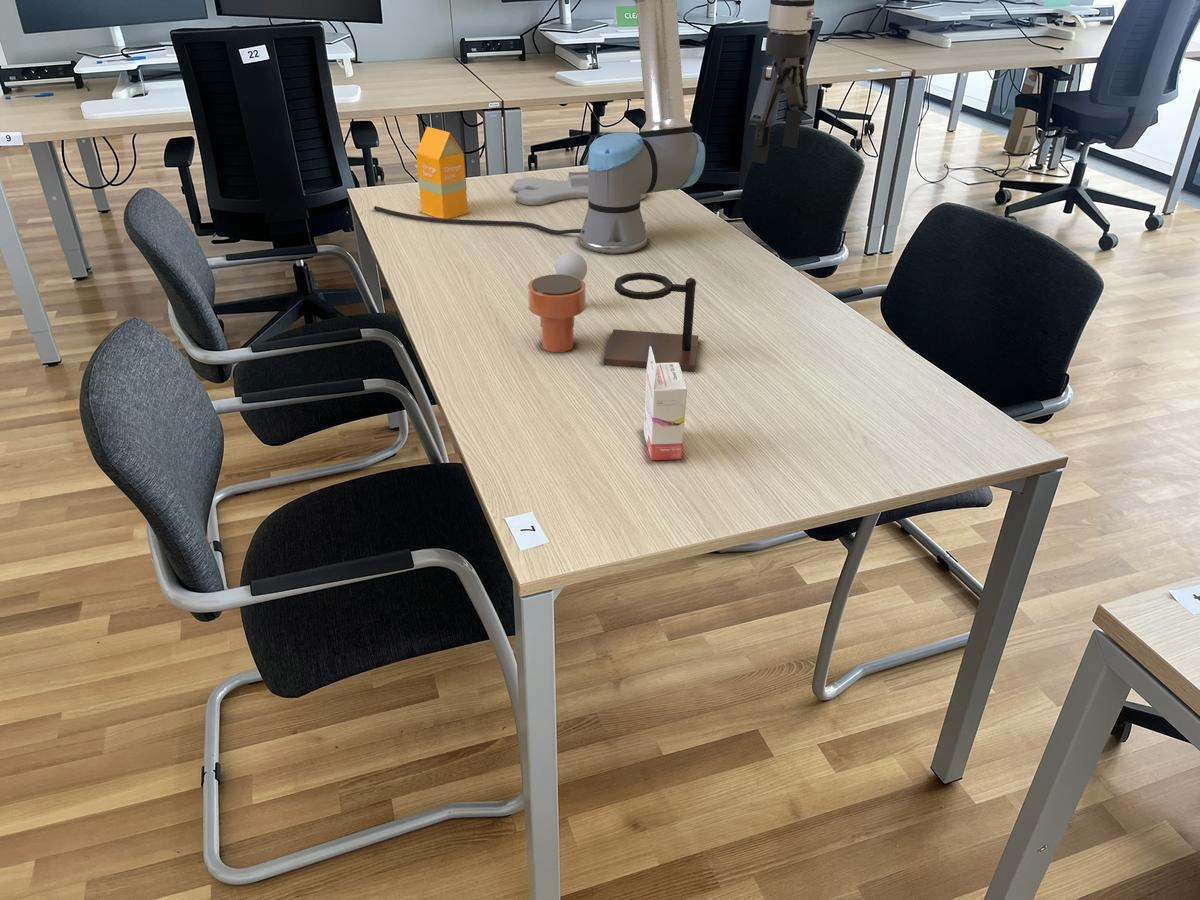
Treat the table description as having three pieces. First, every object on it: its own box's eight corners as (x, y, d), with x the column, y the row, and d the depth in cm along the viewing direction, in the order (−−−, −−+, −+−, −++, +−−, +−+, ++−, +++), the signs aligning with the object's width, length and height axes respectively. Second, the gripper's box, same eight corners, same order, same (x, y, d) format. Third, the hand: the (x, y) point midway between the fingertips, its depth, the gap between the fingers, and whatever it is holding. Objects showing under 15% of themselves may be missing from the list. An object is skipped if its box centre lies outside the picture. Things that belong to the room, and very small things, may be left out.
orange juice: (443, 220, 222) (436, 135, 211) (420, 212, 227) (412, 128, 216) (468, 212, 227) (463, 129, 216) (445, 205, 232) (439, 123, 221)
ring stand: (610, 355, 159) (611, 284, 152) (617, 332, 167) (619, 263, 160) (689, 361, 157) (694, 289, 150) (693, 337, 165) (698, 268, 158)
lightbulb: (592, 304, 180) (592, 250, 174) (578, 316, 176) (578, 261, 170) (564, 298, 183) (563, 245, 177) (550, 310, 178) (549, 255, 172)
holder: (650, 201, 236) (651, 181, 234) (518, 207, 231) (517, 187, 228) (635, 179, 252) (635, 161, 249) (511, 185, 247) (510, 166, 244)
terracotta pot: (518, 347, 164) (515, 285, 158) (554, 328, 171) (553, 268, 164) (560, 363, 159) (559, 300, 153) (596, 343, 166) (597, 282, 159)
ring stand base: (603, 364, 159) (603, 358, 158) (613, 335, 169) (613, 329, 168) (694, 371, 157) (694, 365, 156) (698, 341, 167) (698, 335, 166)
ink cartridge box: (683, 460, 133) (690, 370, 126) (649, 461, 133) (654, 371, 125) (674, 429, 141) (680, 342, 133) (642, 430, 140) (646, 343, 132)
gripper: (779, 42, 150) (764, 173, 161) (836, 24, 168) (819, 143, 179) (737, 37, 153) (726, 166, 165) (797, 20, 171) (784, 137, 182)
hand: (774, 154), depth 172 cm, fingers open, 13 cm apart
